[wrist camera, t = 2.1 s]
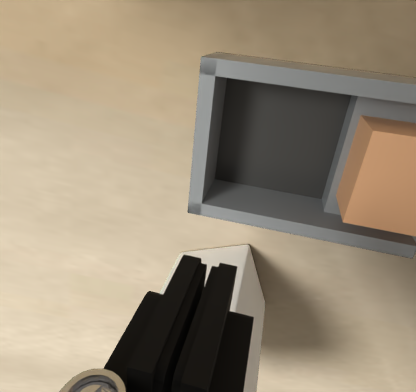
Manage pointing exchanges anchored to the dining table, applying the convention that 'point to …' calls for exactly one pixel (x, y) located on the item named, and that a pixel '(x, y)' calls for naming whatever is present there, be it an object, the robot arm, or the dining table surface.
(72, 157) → the dining table surface
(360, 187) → the block
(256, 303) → the milk carton
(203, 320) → the robot arm
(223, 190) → the gray cradle tray
